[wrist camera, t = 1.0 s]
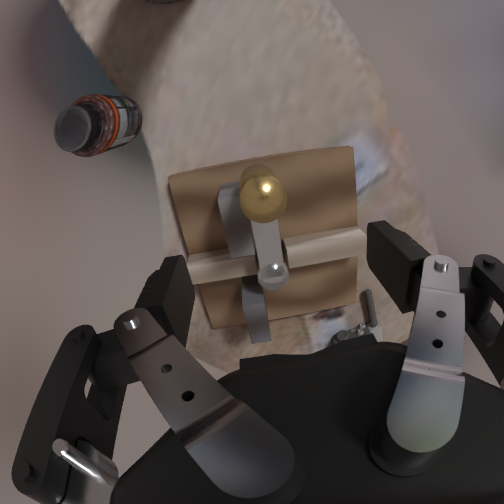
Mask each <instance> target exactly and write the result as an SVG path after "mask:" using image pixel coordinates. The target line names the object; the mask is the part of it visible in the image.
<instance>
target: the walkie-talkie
mask: <svg viewBox="0 0 504 504" xmlns="http://www.w3.org/2000/svg"><path fill="white" fill-rule="evenodd" d="M365 296H366V301H367V306H368V312H369V317H370V323H368V324H364V323H360V326H358V327H355V328H353V329H350V330H348V331H345V330H343V331H340V332H338V333H337V335H336V336H333V337H332V338H331V340H332V345H334V344H336V343H338V342H340V341H343V340H347V339H351V338H355V337H359V336H363V335H367V334H371V333H373V334H374V336H375V338H376V340H377V342H382V341H383V339H382V331H381V330H382V326H381V324H380V322H379V320H377V318H376V315H375V309H374V303H373V298H372V292H371V290H369V289H367V290H366V291H365Z"/></svg>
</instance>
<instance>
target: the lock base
mask: <svg viewBox="0 0 504 504" xmlns="http://www.w3.org/2000/svg"><path fill="white" fill-rule="evenodd" d="M253 164H263V165H266V166H268V167H269V168H270V169H271V170H272V171H273V172H274V174H275V175H276V177H277V179H278V180H279V182H280V183H281V185H282V187H283V188H284V190H285V192H286V195H287V206H286V209H285V211H284V212H283V214H282V215H281V216H280V217H279V218H278V219H277V220H278V227H279V234H280V241H281V248H282V255H283V262H284V263H285V264H286V266H287V269H288V272H289V279H288V282H287V283H286V285H285V286H283V287H282V288H280V289H278V290H267V289H265V288H263V287H262V286H261V285H260V284H259V282H258V275H257V269H258V266H259V260H258V255H257V250H256V244H255V239H254V233H253V228H252V223H251V220H250V219H249V218H247V217H246V216H245V214H244V213H243V211H242V209H241V206H240V176H241V174H242V170H244V169H245V168H247V167H248V166H250V165H253ZM168 181H169V185H170V189H171V192H172V196H173V200H174V204H175V207H176V211H177V215H178V218H179V222H180V225H181V229H182V232H183V236H184V239H185V243H186V246H187V249H188V253H189V258H188V261H187V264H186V265H187V268H188V271H189V274H190V277H191V280H192V283H193V285H194V284H198V285H199V288H200V291H201V294H202V297H203V300H204V303H205V306H206V309H207V312H208V315H209V318H210V321H211V324H212V326H213V328H221V327H228V326H235V325H242V324H247V327H248V331H249V335H250V339H251V343H252V344H253V343H260V342H266V341H271V335H270V328H269V321H268V320H273V319H279V318H284V317H290V316H295V315H301V314H306V313H311V312H316V311H321V310H326V309H331V308H335V307H340V306H345V305H349V304H353V303H356V283H357V256H359V255H364V254H366V246H367V236H366V235H365V234H364V233H363V232H362V230H361V229H360V228H359V227H358V226H357V199H356V179H355V165H354V152H353V147H350V146H341V147H331V148H321V149H313V150H304V151H297V152H289V153H282V154H275V155H269V156H263V157H257V158H251V159H245V160H240V161H234V162H229V163H224V164H219V165H214V166H209V167H204V168H200V169H195V170H191V171H186V172H182V173H178V174H174V175H170V176H169V177H168Z"/></svg>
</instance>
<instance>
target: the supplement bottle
mask: <svg viewBox="0 0 504 504" xmlns="http://www.w3.org/2000/svg"><path fill="white" fill-rule="evenodd" d="M141 125H142V113H141V110H140V108H139V106H138V105H137V104H136V103H135V102H134V101H133V100H131V99H129V98H126V97H119V96H108V95H87V96H83V97H81V98H79V99H77V100H76V101H75V102H73V103H72V105H70V106H69V107H67V108H65V109H64V110H63V111H62V112H61V113H60V114H59V116H58V117H57V119H56V122H55V126H54V137H55V140H56V142H57V144H58V146H59V147H60V148H61V149H63V150H65V151H68V152H72V153H73V154H75V155H78V156H81V157H91V156H94V155H97V154H100V153H103V152H105V151H108V150H111V149H114V148H117V147H120V146H123V145H125V144H127V143H129V142H130V141H131V140H133V138H135V137H136V135H137V134H138V133H139V131H140V128H141Z"/></svg>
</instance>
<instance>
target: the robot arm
mask: <svg viewBox="0 0 504 504" xmlns="http://www.w3.org/2000/svg"><path fill="white" fill-rule="evenodd" d="M146 1H150V2H153V3H169V2H174V1H178V0H146ZM367 262H368V266H369V268H370V269H371V271H372V272H373V273H374V275H375V276H376V277H377V279H378V280H379V281H380V283H381V284H382V286H383V287H384V288H385V290H386V291H387V292H388V294H389V295H390V297H391V298H392V299H393V301H394V302H395V304H396V305H397V306H398V308H399V309H400V311H401V312H402V314H404V313H407V312H411V311H414V312H415V313H414V317H413V322H412V326H411V330H410V335H409V339H408V342H407V346H405V345H402V344H398V343H393V342H377V340H376V338H375V336H374V334H373V333H371V334H367V335H363V336H359V337H355V338H351V339H347V340H343V341H340V342H338V343H336V344H334V345H331V346H329V347H327V348H325V349H322V350H320V351H318V352H315V353H313V354H309V355H286V354H272V355H265V356H259V357H252V358H245V359H240V369H239V370H236V371H234V372H232V373H229V374H227V375H225V376H224V377H222V378H220V379H219V380H217V381H216V380H215V379H214V378H213V377H212V376H211V375H210V374H209V373H208V372H207V371H206V370H205V369H204V368H203V367H202V365H201V364H200V363H198V361H197V360H196V359H195V358H194V357H193V356H192V355H191V354H190V353H189V352H188V351H187V350H186V348H185V347H186V341H187V336H188V331H189V325H190V320H191V315H192V310H193V305H194V300H195V292H194V287H193V283H192V280H191V277H190V274H189V271H188V268H187V265H186V262H185V259H184V257H183V255H176V256H171V257H165V259H164V261H163V263H162V265H161V267H160V269H159V270H156V271H155V272H154V273H153V274H151V276H149V277H148V279H147V281H146V283H145V286H144V288H143V290H142V292H141V294H140V296H139V298H138V300H137V303H136V305H135V307H134V309H130V310H128V311H126V312H124V313H122V314H121V315H120V316H119V317H118V318H117V319H116V320H115V322H114V329H112V330H109V331H106V332H103V333H100V334H96V332H95V330H94V328H93V327H92V326H90V325H81V326H79V327H76V328H74V329H73V330H71V331H70V332H69V333H68V334H67V336H66V337H65V339H64V340H63V343H62V345H61V346H60V348H59V350H58V352H57V354H56V356H55V358H54V360H53V362H52V364H51V366H50V369H49V371H48V373H47V375H46V377H45V379H44V382H43V384H42V386H41V389H40V391H39V393H38V395H37V398H36V400H35V403H34V405H33V408H32V410H31V413H30V415H29V418H28V421H27V424H26V426H25V429H24V432H23V434H22V437H21V440H20V443H19V447H18V450H17V453H16V456H15V460H14V463H13V467H12V480H13V483H14V485H15V487H16V488H17V489H18V491H20V492H21V493H23V494H24V495H26V496H28V497H30V498H32V499H33V500H35V501H37V502H39V503H40V504H504V321H503V324H502V326H501V325H500V324H499V322H498V321H497V320H496V319H495V317H494V316H493V315H492V314H491V313H490V309H491V307H492V304H493V301H494V300H495V301H496V303H497V304H498V305H499V306H500V307H501V308H502V310H503V313H504V264H503V263H502V262H501V261H500V260H498V259H497V258H495V257H493V256H490V255H486V254H481V255H477V256H476V257H475V258H474V261H473V266H472V267H458V265H457V263H456V262H455V261H454V260H453V259H451V258H449V257H447V256H443V255H431V254H430V253H429V252H427V251H426V250H425V249H424V248H423V247H422V246H421V245H419V244H418V243H417V242H416V241H415V240H413V239H412V238H411V237H410V236H409V235H408V234H407V233H405V232H402V231H400V230H398V229H395V228H394V227H392V226H391V225H390V224H389V223H388V222H386V221H385V220H383V221H377V222H370V223H368V225H367ZM465 331H466V333H467V334H468V336H469V337H470V339H471V340H472V342H473V343H474V344H475V346H476V347H477V349H478V351H479V352H480V354H481V355H482V357H483V358H484V360H485V362H486V363H487V365H488V366H489V368H490V370H491V371H492V373H493V374H494V376H495V378H496V380H497V381H498V383H499V385H500V388H498V387H496V386H494V385H491V384H489V383H487V382H485V381H483V380H480V379H478V378H476V377H474V376H471V375H469V374H467V373H465V372H462V367H463V355H464V335H465ZM87 379H89V380H90V382H91V383H92V384H91V387H90V390H89V393H88V397H87V399H86V397H85V393H84V388H85V384H86V382H87ZM137 381H141V382H142V384H143V385H144V387H145V389H146V390H147V392H148V394H149V395H150V397H151V398H152V400H153V402H154V403H155V405H156V406H157V408H158V409H159V411H160V412H161V413H162V415H163V417H164V418H165V420H166V421H167V422H168V424H169V425H170V427H171V428H170V429H169V430H168V431H167V432H166V433H165V434H164V435H163V436H162V437H161V438H160V439H159V440H158V441H157V442H156V443H155V444H154V445H153V446H152V447H151V448H150V449H149V450H148V451H147V452H146V453H145V454H144V455H143V456H142V457H141V458H140V459H139V460H138V461H136V462H135V463H134V464H133V465H132V466H131V467H130V468H129V469H128V470H127V471H126V472H125V473H124V474H123V475H122V476H121V477H120V478H119V477H118V469H117V466H116V465H115V463H114V462H113V461H112V457H113V451H114V445H115V440H116V434H117V429H118V424H119V419H120V414H121V410H122V405H123V401H124V396H125V392H126V387H127V384H130V383H134V382H137Z"/></svg>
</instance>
